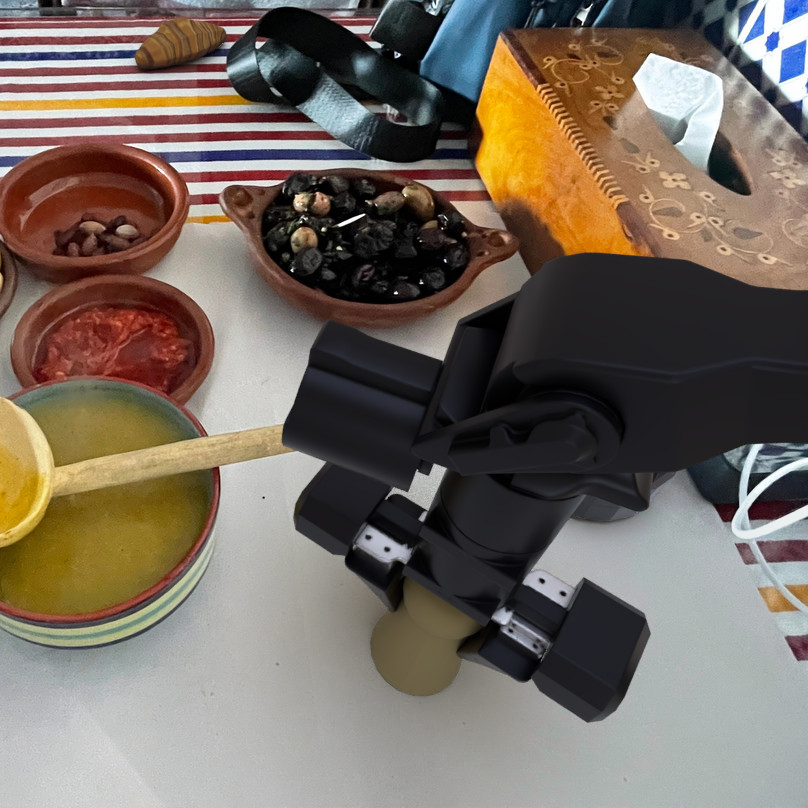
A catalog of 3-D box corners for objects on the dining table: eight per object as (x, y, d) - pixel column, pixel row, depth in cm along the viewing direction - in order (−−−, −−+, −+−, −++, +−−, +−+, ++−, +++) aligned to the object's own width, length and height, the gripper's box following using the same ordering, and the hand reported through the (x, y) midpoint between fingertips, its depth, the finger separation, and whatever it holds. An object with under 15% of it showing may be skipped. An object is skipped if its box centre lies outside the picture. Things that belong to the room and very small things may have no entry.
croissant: (153, 84, 93) (150, 43, 89) (123, 60, 96) (119, 20, 92) (240, 54, 99) (241, 14, 95) (210, 32, 102) (209, -7, 98)
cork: (408, 589, 53) (445, 511, 45) (478, 651, 51) (532, 580, 42) (351, 648, 51) (380, 576, 42) (423, 716, 48) (469, 655, 39)
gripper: (748, 487, 37) (614, 616, 49) (411, 313, 43) (367, 466, 55) (678, 673, 31) (546, 766, 43) (300, 441, 37) (279, 580, 49)
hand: (428, 628), depth 48 cm, fingers closed on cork, 4 cm apart
